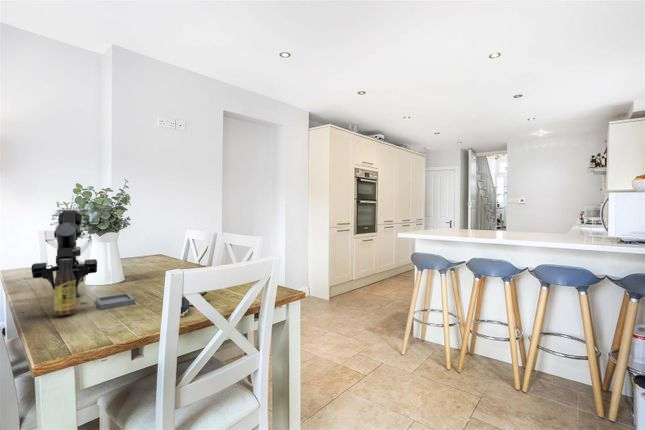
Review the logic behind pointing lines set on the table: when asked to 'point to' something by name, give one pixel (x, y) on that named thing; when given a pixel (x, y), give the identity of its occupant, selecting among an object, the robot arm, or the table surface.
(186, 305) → the flask
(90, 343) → the table surface
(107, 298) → the keeper tray
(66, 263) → the sauce bottle
